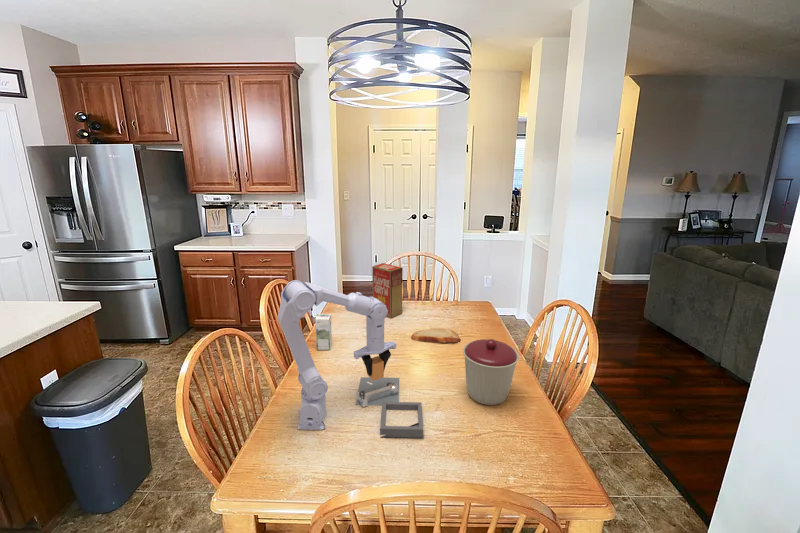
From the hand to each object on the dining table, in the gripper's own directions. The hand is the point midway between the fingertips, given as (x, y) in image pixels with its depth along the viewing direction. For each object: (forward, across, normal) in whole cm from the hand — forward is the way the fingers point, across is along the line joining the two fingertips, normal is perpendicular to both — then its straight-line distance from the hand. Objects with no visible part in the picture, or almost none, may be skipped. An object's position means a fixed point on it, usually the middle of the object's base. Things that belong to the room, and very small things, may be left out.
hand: (375, 372), depth 126 cm
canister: (+10, -34, +18) cm, 39 cm away
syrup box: (+10, +4, -41) cm, 43 cm away
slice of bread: (+10, -43, -26) cm, 51 cm away
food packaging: (+10, -37, -62) cm, 72 cm away
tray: (+9, -1, +16) cm, 18 cm away
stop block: (+2, 0, 0) cm, 2 cm away
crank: (+8, 0, +2) cm, 8 cm away
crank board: (+9, -2, -1) cm, 10 cm away
